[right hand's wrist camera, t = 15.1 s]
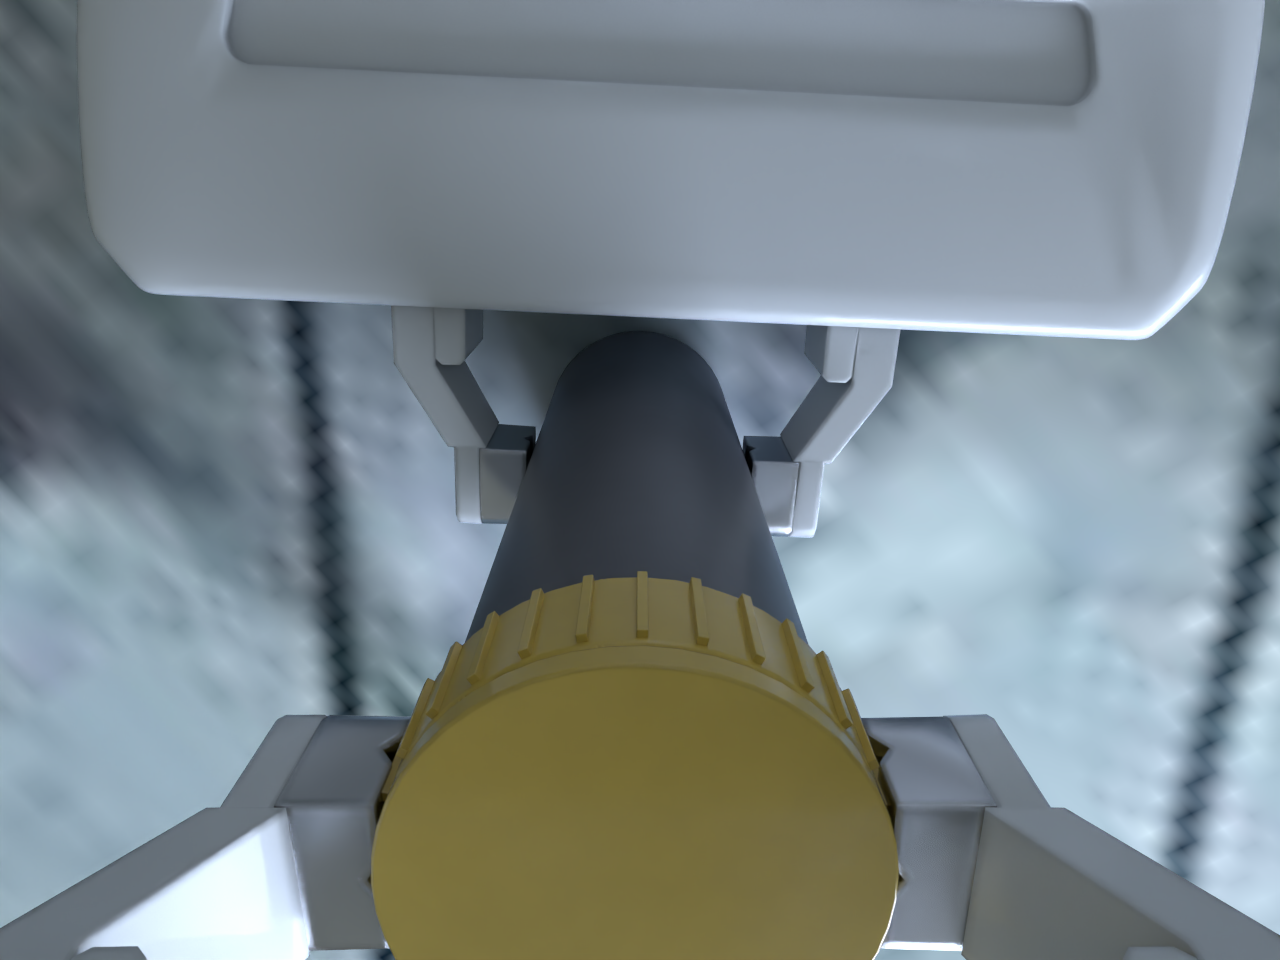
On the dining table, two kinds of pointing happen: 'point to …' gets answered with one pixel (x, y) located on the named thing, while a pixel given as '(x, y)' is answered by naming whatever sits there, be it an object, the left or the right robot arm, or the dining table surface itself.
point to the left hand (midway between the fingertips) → (637, 521)
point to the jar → (637, 485)
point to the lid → (634, 790)
